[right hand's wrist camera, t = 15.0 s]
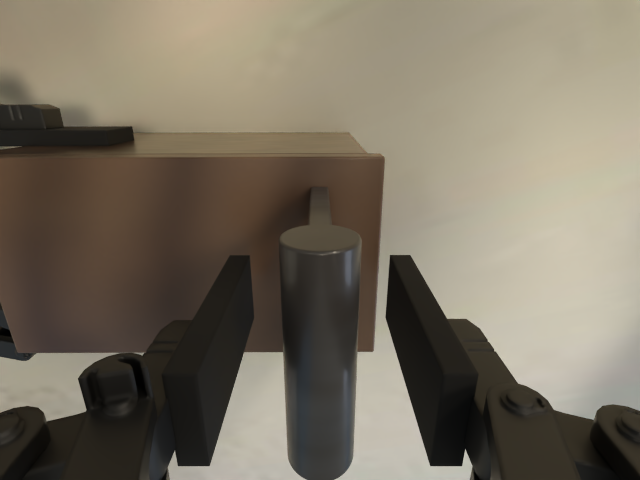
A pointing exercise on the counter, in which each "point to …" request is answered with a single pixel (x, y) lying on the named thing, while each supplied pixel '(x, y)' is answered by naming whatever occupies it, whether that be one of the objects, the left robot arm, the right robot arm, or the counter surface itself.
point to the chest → (212, 144)
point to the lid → (203, 265)
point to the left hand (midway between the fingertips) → (137, 226)
